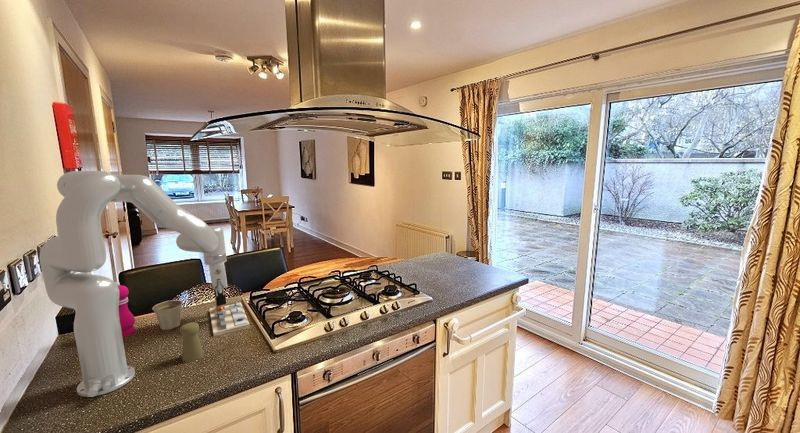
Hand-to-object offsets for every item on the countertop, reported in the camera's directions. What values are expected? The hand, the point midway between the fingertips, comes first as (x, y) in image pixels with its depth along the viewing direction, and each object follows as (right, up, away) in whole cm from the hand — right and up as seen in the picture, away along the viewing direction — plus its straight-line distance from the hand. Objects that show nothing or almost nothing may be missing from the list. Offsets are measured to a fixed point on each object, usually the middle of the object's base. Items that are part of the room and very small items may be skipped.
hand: (220, 300), depth 134 cm
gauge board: (+3, -8, +1) cm, 8 cm away
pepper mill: (-30, -10, -10) cm, 33 cm away
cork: (+4, -12, -24) cm, 27 cm away
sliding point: (+2, -6, +2) cm, 6 cm away
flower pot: (-17, -9, -4) cm, 20 cm away
